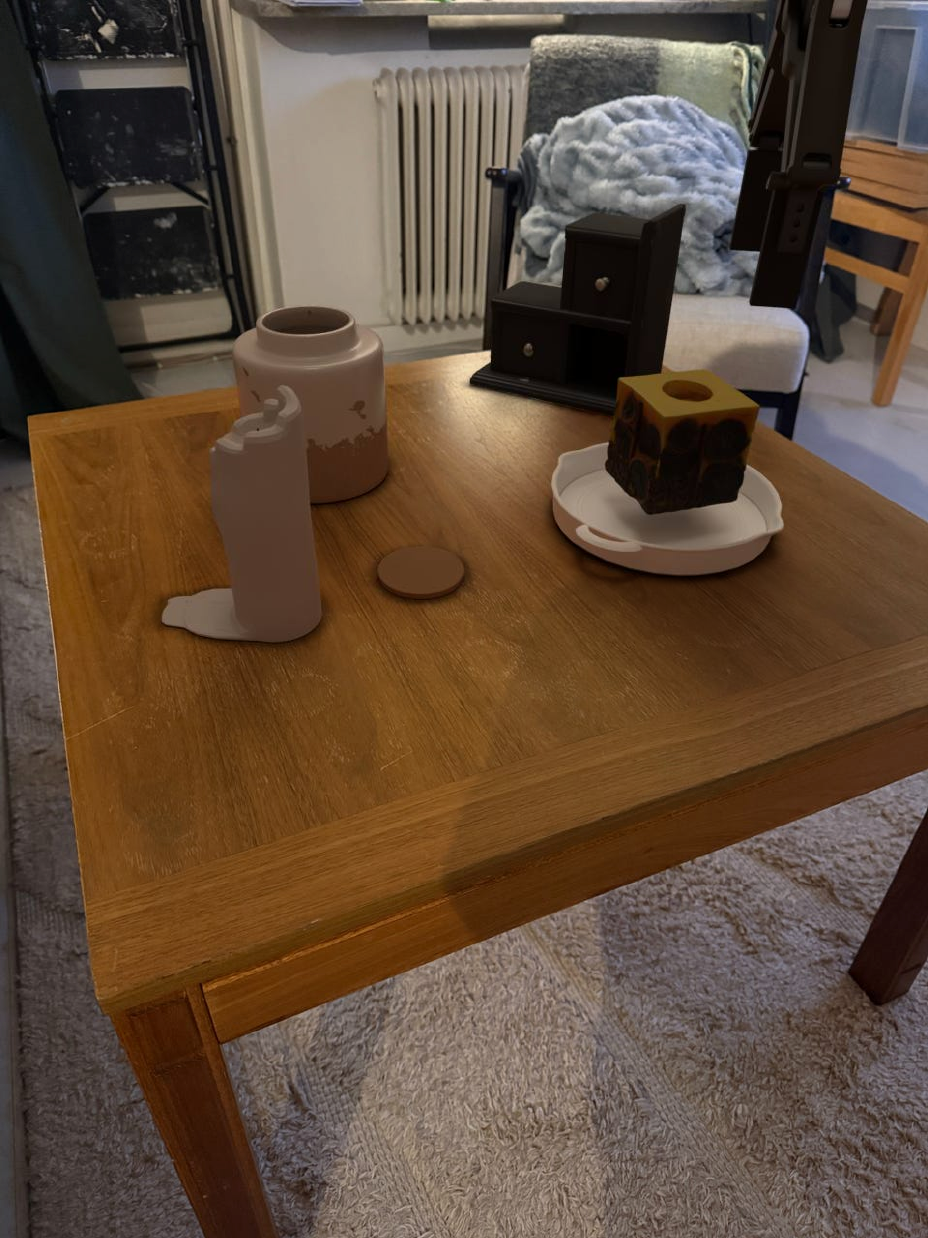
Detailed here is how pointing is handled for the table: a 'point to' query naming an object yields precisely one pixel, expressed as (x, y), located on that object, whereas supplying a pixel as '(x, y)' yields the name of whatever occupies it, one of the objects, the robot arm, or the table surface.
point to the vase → (322, 392)
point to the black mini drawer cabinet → (589, 314)
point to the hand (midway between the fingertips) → (758, 275)
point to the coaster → (420, 572)
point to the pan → (660, 521)
